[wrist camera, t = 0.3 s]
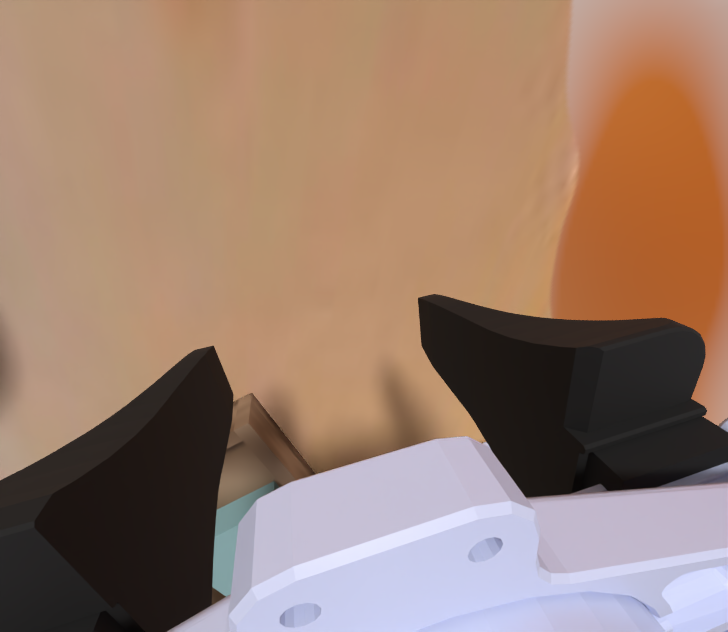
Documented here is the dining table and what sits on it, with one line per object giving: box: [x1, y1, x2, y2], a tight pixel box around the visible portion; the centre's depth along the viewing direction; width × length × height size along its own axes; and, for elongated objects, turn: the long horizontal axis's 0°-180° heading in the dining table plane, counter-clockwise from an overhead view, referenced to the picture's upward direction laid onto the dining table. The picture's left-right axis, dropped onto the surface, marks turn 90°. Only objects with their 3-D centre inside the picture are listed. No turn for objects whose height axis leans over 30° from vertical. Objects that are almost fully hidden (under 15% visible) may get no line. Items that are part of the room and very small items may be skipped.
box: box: [212, 393, 315, 605], centre depth 26 cm, size 19×13×3 cm
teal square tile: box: [212, 481, 280, 597], centre depth 27 cm, size 9×8×2 cm
